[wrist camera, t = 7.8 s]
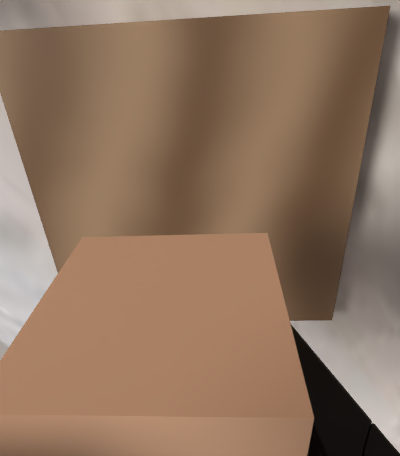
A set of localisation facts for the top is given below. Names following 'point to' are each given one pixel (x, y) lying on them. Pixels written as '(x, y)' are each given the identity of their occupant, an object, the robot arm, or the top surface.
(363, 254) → the top surface
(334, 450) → the robot arm
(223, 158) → the walnut board
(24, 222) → the top surface
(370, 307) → the top surface
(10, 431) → the terracotta cube
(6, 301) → the top surface
